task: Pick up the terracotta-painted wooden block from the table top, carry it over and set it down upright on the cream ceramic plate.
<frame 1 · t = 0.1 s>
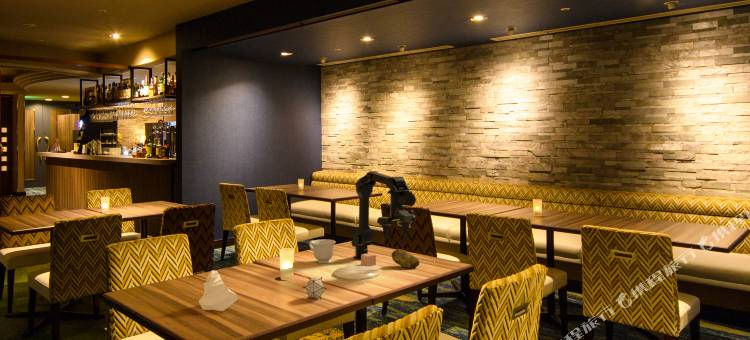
hand: (396, 237, 250), 15 cm above the table, tool pointing down, fingers open, 9 cm apart
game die: (315, 298, 207), on the table
potato: (405, 267, 254), on the table
teacup: (321, 261, 266), on the table
plate: (356, 273, 242), on the table
soft serve ice cream: (217, 307, 198), on the table
block: (368, 265, 258), on the table
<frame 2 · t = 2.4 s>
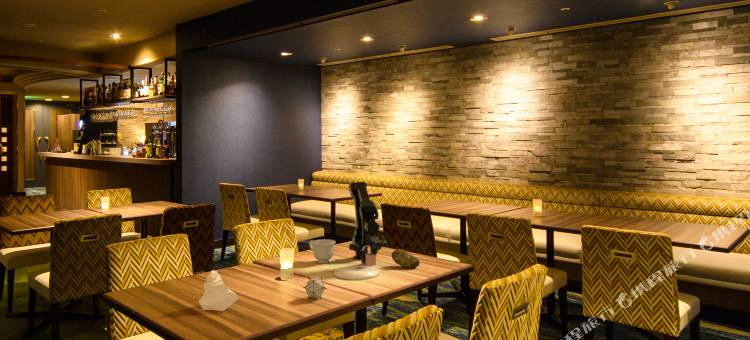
hand: (368, 262, 258), 1 cm above the table, tool pointing down, fingers closed on block, 5 cm apart
block: (368, 264, 258), on the table, touching gripper
everything else where it was.
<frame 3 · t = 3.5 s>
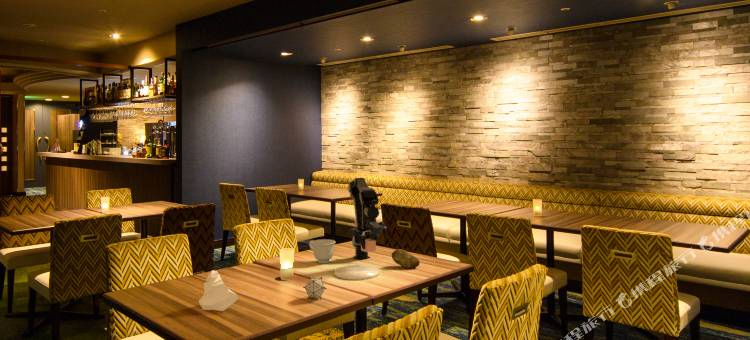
hand: (368, 248, 258), 8 cm above the table, tool pointing down, fingers closed on block, 5 cm apart
block: (368, 250, 258), point 7 cm above the table, touching gripper
everything else where it was.
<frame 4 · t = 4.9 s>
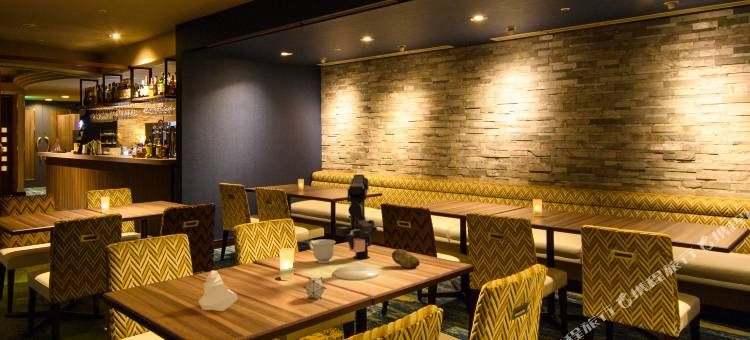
hand: (357, 248, 242), 11 cm above the table, tool pointing down, fingers closed on block, 5 cm apart
block: (357, 250, 242), point 10 cm above the table, touching gripper
everything else where it was.
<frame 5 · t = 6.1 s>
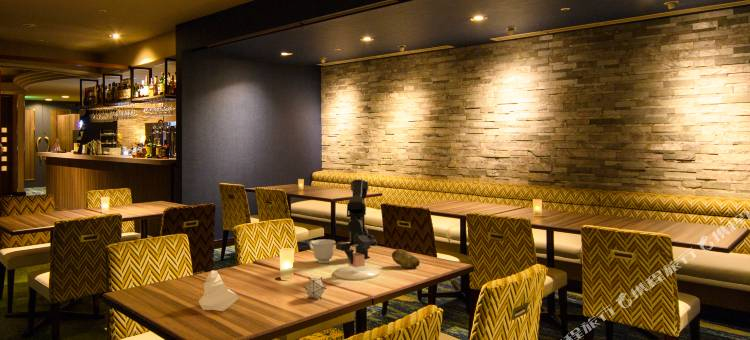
hand: (356, 263, 242), 5 cm above the table, tool pointing down, fingers closed on block, 5 cm apart
block: (356, 265, 242), point 4 cm above the table, touching gripper
everything else where it was.
when the fingers open (3 cm above the table, at t = 7.2 s): block drops 1 cm, resting on plate.
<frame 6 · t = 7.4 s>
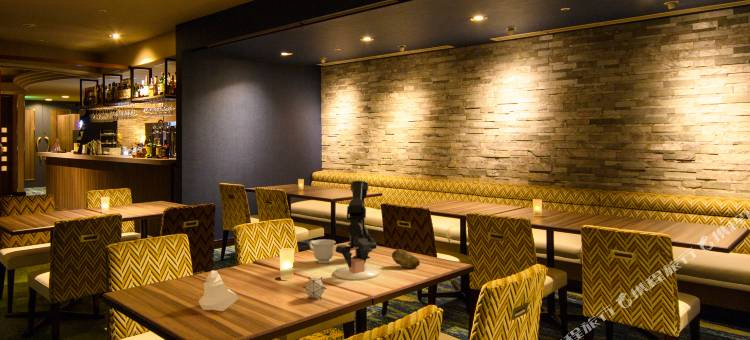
hand: (356, 266, 242), 3 cm above the table, tool pointing down, fingers open, 7 cm apart
block: (356, 271, 242), point 1 cm above the table, touching plate
everything else where it was.
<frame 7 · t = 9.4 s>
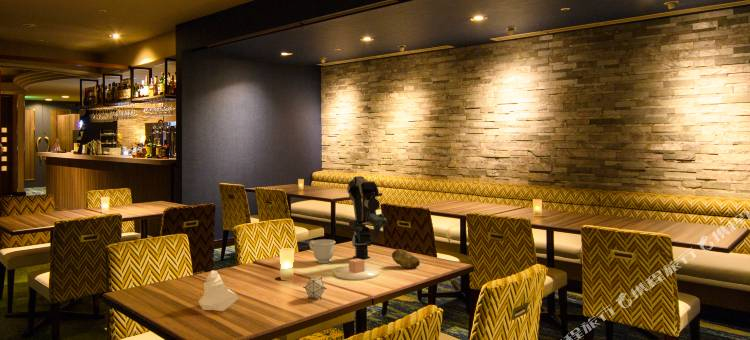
hand: (368, 239, 259), 12 cm above the table, tool pointing down, fingers open, 9 cm apart
nothing on the table moved.
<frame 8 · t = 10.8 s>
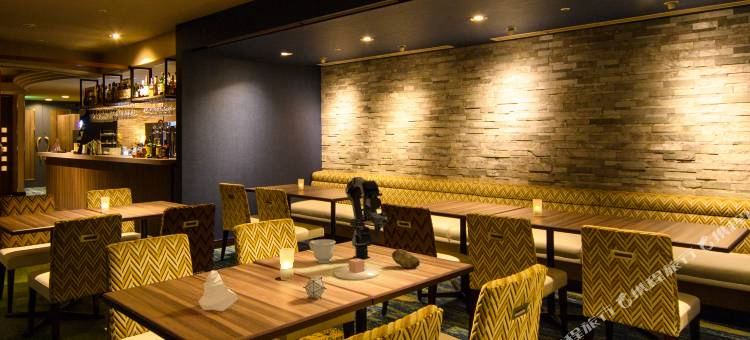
hand: (369, 238, 260), 12 cm above the table, tool pointing down, fingers open, 9 cm apart
nothing on the table moved.
at the end: block inside the target area on the plate (0.0 cm from its centre), point 1.2 cm above the plate's base; block tilted 0°; the gripper is holding nothing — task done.
